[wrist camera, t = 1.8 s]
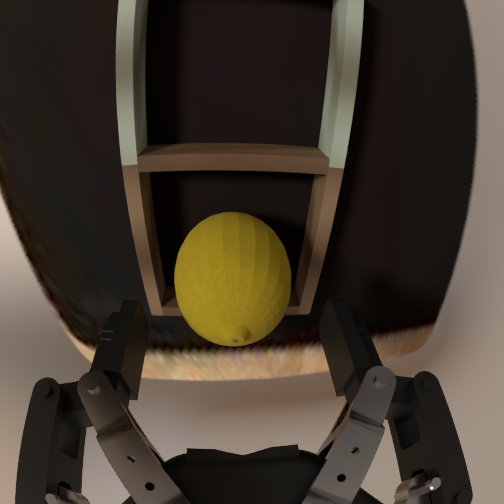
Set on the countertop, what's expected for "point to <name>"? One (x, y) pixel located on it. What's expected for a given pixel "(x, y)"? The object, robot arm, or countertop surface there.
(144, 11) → the frame
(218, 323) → the lemon
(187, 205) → the countertop surface
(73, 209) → the countertop surface
